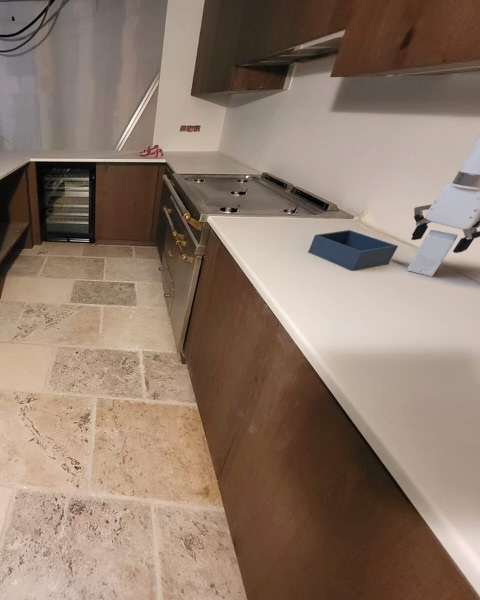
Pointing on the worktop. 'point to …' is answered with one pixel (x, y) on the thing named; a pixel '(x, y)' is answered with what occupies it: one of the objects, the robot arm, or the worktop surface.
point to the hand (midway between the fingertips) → (435, 245)
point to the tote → (352, 249)
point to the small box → (432, 252)
